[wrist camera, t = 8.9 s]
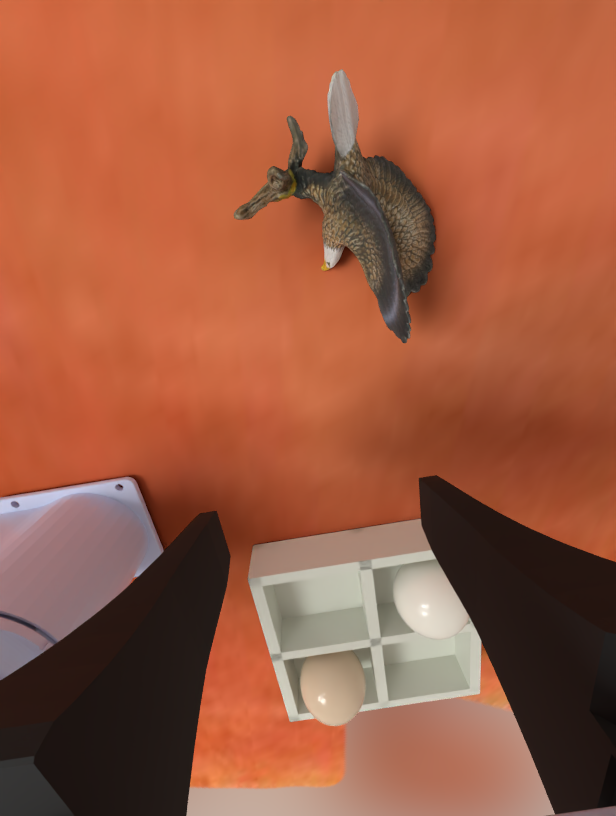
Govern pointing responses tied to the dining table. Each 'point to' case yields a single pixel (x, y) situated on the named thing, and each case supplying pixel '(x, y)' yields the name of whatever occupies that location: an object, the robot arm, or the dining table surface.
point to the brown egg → (333, 686)
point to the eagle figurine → (360, 210)
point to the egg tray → (356, 616)
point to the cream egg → (428, 600)
